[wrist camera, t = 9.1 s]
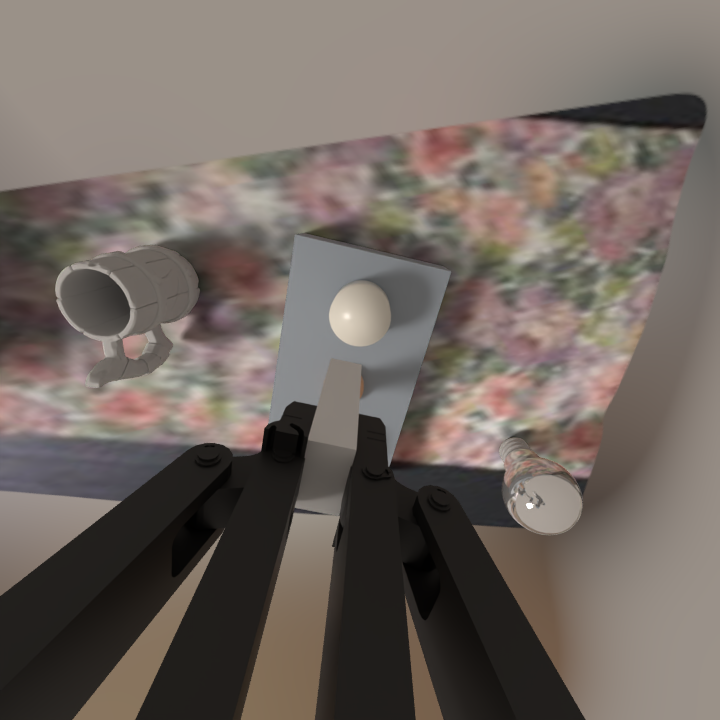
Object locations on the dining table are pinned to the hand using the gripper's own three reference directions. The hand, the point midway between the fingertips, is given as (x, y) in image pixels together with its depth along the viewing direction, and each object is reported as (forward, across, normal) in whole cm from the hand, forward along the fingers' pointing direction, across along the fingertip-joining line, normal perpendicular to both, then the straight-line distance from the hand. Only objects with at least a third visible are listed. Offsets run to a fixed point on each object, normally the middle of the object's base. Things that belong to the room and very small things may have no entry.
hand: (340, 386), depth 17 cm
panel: (+20, +1, -8) cm, 22 cm away
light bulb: (+20, +22, -13) cm, 32 cm away
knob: (+20, +1, 0) cm, 20 cm away
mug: (+21, -19, -5) cm, 29 cm away
